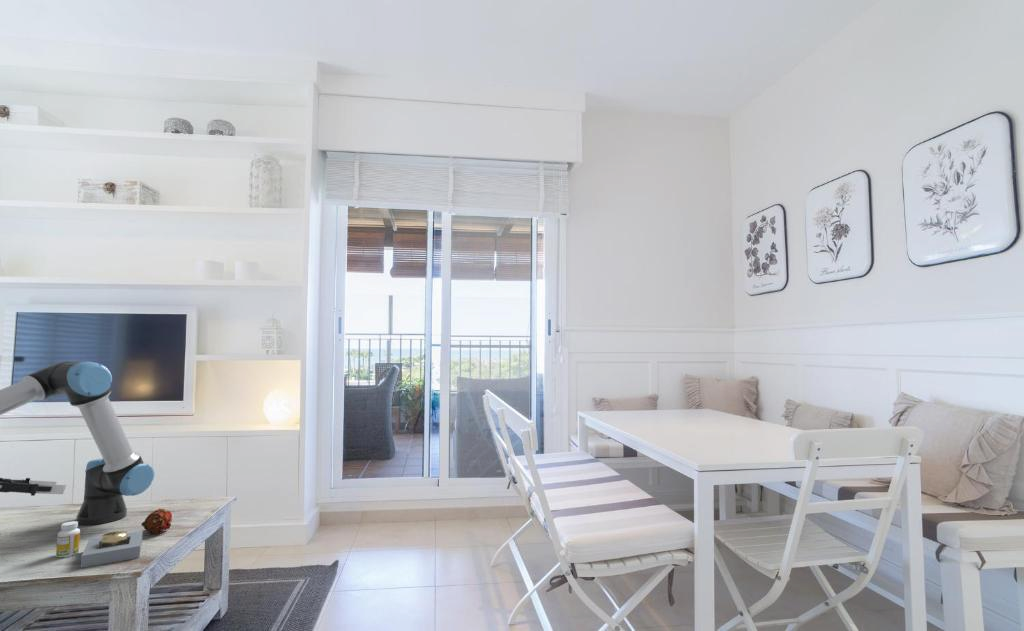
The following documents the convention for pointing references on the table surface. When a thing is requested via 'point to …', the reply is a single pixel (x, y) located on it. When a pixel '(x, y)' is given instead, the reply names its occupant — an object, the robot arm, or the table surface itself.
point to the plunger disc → (114, 538)
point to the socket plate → (111, 550)
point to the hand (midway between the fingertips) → (59, 487)
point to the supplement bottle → (68, 540)
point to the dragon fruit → (158, 521)
